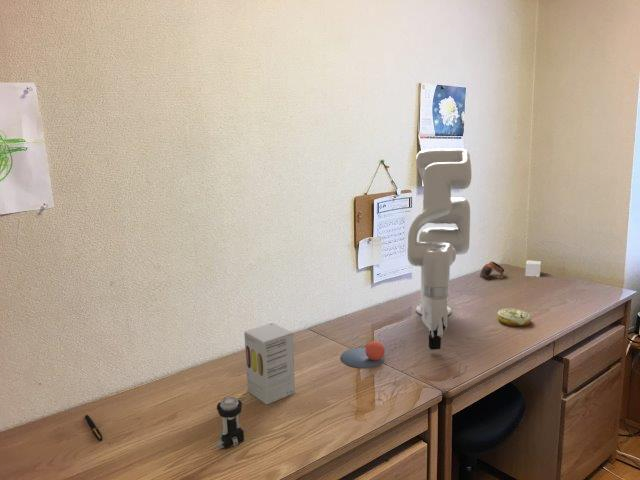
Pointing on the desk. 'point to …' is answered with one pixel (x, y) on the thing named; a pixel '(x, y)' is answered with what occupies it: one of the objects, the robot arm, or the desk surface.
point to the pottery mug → (488, 269)
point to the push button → (230, 422)
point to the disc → (359, 358)
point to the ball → (375, 350)
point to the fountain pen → (93, 428)
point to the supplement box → (270, 362)
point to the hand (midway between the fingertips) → (434, 348)
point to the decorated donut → (514, 317)
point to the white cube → (533, 268)
